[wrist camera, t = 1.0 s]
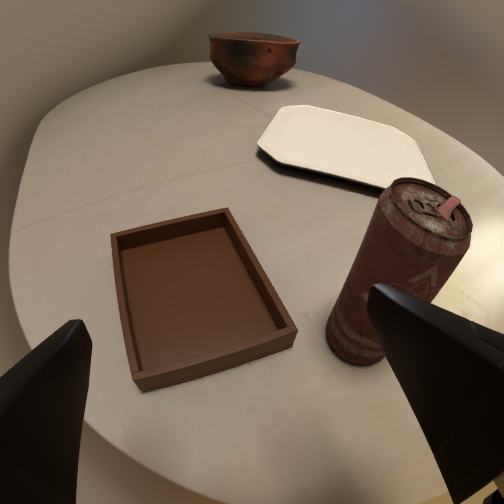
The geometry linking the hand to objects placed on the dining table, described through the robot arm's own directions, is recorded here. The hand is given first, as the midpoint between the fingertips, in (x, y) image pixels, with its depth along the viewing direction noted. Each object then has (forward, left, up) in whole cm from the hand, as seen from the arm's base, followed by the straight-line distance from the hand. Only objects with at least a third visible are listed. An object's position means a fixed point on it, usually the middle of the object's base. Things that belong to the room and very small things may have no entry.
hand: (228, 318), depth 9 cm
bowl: (+78, -34, -14) cm, 86 cm away
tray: (+12, -1, -14) cm, 18 cm away
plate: (+33, -34, -14) cm, 49 cm away
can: (+3, -13, -14) cm, 19 cm away
